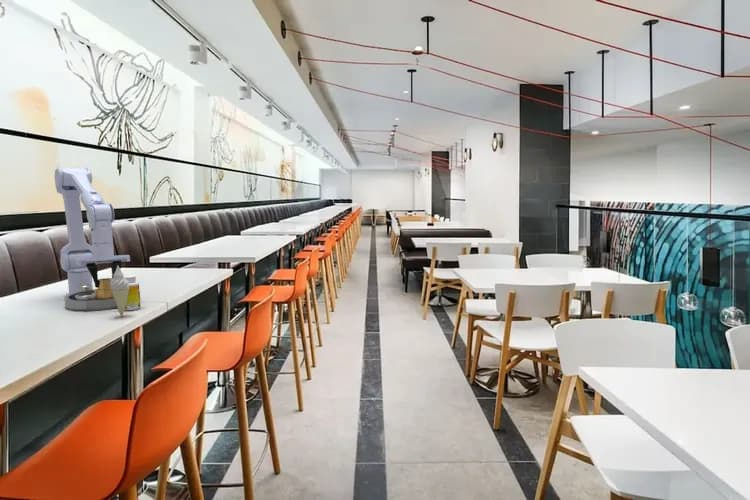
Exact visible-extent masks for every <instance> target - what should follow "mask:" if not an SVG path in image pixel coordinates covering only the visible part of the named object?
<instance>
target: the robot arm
mask: <svg viewBox="0 0 750 500" xmlns="http://www.w3.org/2000/svg"><path fill="white" fill-rule="evenodd" d="M53 177H54V185H55V189H56V193H58V194H61V195H62V199H63V205H64V215H65V221H66V222H65V223H66V230H67V236H68V238H67V239H68V243H67V244H66V245H64V246H63V247H62V248H61V249H60V259H59V262H60V267H61V269H62V270H63V271H64V272H66V273H67V283H68V284H67V285H68V293H65V294H66V296H68V295H70V294H73V293H77V286H78V285H83V284H91V285H92V290H94V287H95V289H98V287H99V283H98V279H99V277H98V276H99V275H98V266H97V265H99V264H110V267H111V269H110V270H111V278H114V276H113V275H114V273H115V271H116V268H117V265H118V266H119V268H120V270H121V269H122V267H123V262H128V263H129V262H131V256H130V255H129V254H121V255H114V254H115V253H114V239H113V224H112V223H113V222H114V220H115V210H114V206H113V205H112V203H110V202H109V203H108V202H105V200H104V199H103V197H102V195H101V194H100V192H99V191H98V190H96V189H94V188H93V186H92V183H93V173H92V171H91V170H90V168H89V167H61V166H57V167H56V168H55V170H54V176H53ZM81 203H82V205H83V207H84V208H85V210H86V219H87V222H88V228H89V229H90V235H91V244H89V243H88V242H86V241H85V240H86V238H85V229H84V223H83V213H82V207H81V206H82V205H81ZM93 283H94V284H93Z"/></svg>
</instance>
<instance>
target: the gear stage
mask: <svg viewBox="0 0 750 500" xmlns="http://www.w3.org/2000/svg"><path fill="white" fill-rule="evenodd" d="M139 292H140V293H141V291H140V290H139ZM64 306H65V309H66V310H69V311H73V312H96V311H98V312H99V311H108V310H115V309H118V307H117V305H116V302H115V300H114V297H112V298H104V299H103V298H96V297H95V294H94V289H93V290H92V285H91V284H83V285H78V286H77V293H73V294H70V295H68V296H67V295H66V296H64Z"/></svg>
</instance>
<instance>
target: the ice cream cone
mask: <svg viewBox="0 0 750 500" xmlns="http://www.w3.org/2000/svg"><path fill="white" fill-rule="evenodd" d="M113 276H114V278H113V279H112V280H111V282H110V283H109V284H110V288H111V289H110V290H111V292H112V295H113V297H114V300H115V302H116V305H117V307H118V308H117V309H118V312H119V315H120V317H123V316H124V313H125V311H124V309H125V304H126V300H127V296H128V291H129V287H128V286H129V285H128V284H129V282H128V281H127V279H126V278H125V277H124V276H125V274H124V272H123V271H122V270H121V269H120V268H119V266H118V265H117V268H116V271H115V273H114V275H113Z"/></svg>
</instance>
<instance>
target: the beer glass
mask: <svg viewBox="0 0 750 500" xmlns="http://www.w3.org/2000/svg"><path fill="white" fill-rule="evenodd" d="M124 277H125V278H126V279H127V281H128V282H129V284H128V285H129V286H128V287H129V291H128V296H127V300H126V304H125V309H124V312H125V311H128V312H129V311H135V310H138V309H140V308H141V291H140V283H139V282H138V281H137V276H136V275H133V274H129V275H128V274H126V275H124ZM139 291H140V292H139Z"/></svg>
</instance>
